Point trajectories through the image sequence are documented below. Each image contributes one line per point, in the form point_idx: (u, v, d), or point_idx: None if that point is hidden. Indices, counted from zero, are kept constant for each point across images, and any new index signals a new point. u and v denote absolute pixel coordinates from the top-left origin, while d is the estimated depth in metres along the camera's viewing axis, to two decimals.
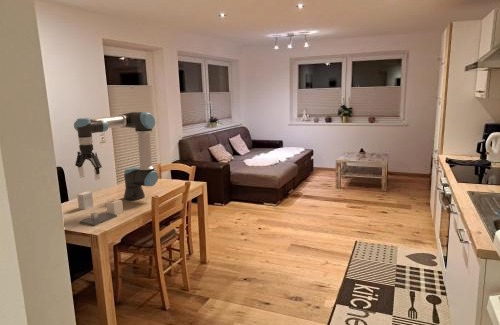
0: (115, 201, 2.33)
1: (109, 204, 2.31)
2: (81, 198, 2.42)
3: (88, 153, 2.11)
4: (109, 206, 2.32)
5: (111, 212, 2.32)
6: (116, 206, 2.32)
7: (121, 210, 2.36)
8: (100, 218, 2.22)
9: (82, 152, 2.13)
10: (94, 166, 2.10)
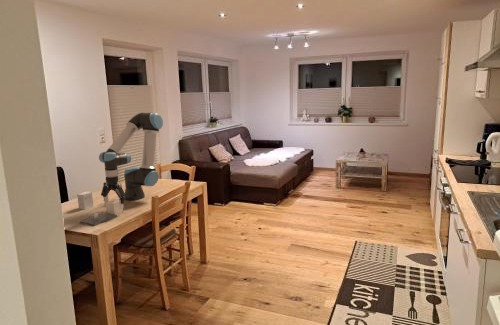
0: (115, 201, 2.33)
1: (109, 204, 2.31)
2: (81, 198, 2.42)
3: (114, 184, 2.29)
4: (109, 206, 2.32)
5: (111, 212, 2.32)
6: (116, 206, 2.32)
7: (121, 210, 2.36)
8: (100, 218, 2.22)
9: (108, 183, 2.32)
10: (119, 196, 2.29)
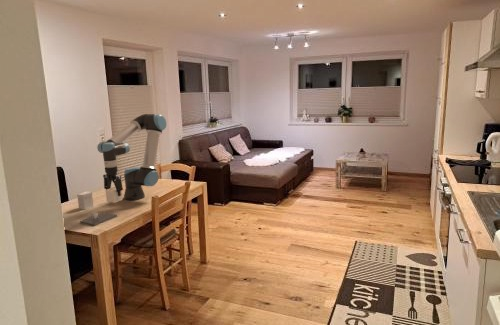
0: (114, 189, 2.32)
1: (108, 192, 2.30)
2: (81, 198, 2.42)
3: (113, 175, 2.28)
4: (108, 194, 2.31)
5: (111, 200, 2.31)
6: None
7: (121, 198, 2.35)
8: (100, 218, 2.22)
9: (107, 173, 2.31)
10: (116, 188, 2.30)
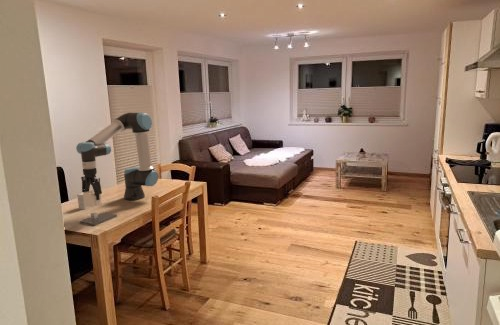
0: (93, 192, 2.16)
1: (86, 195, 2.14)
2: (81, 198, 2.42)
3: (92, 177, 2.12)
4: (86, 197, 2.14)
5: (88, 204, 2.14)
6: None
7: None
8: (100, 218, 2.22)
9: (85, 175, 2.15)
10: (95, 192, 2.13)
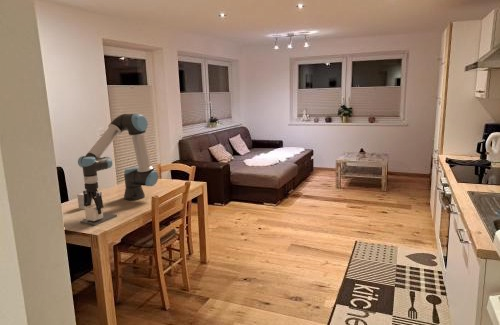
0: (94, 206, 2.18)
1: (88, 209, 2.16)
2: (81, 198, 2.42)
3: (93, 191, 2.14)
4: (88, 211, 2.16)
5: (90, 218, 2.16)
6: (95, 211, 2.16)
7: (101, 216, 2.20)
8: None
9: (87, 190, 2.16)
10: (96, 206, 2.15)
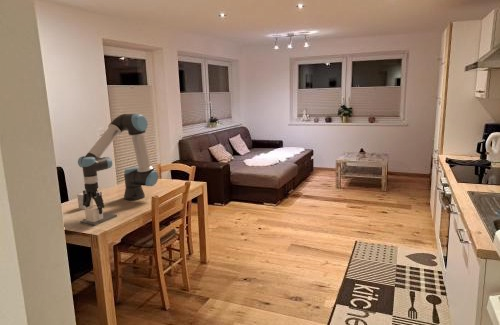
0: (94, 207, 2.18)
1: (88, 210, 2.16)
2: (81, 198, 2.42)
3: (93, 191, 2.14)
4: (88, 212, 2.16)
5: (90, 219, 2.16)
6: (95, 212, 2.16)
7: None
8: None
9: (87, 190, 2.16)
10: (97, 206, 2.15)
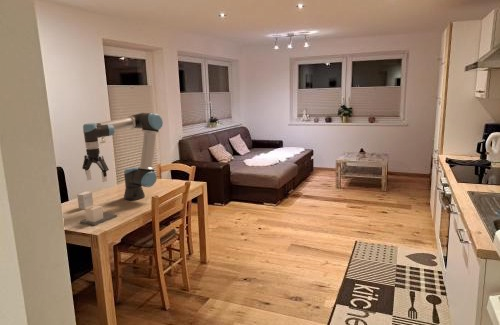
0: (94, 207, 2.18)
1: (88, 210, 2.16)
2: (81, 198, 2.42)
3: (95, 157, 2.21)
4: (88, 212, 2.16)
5: (90, 219, 2.16)
6: (95, 212, 2.16)
7: (101, 217, 2.20)
8: None
9: (89, 156, 2.23)
10: (101, 169, 2.21)
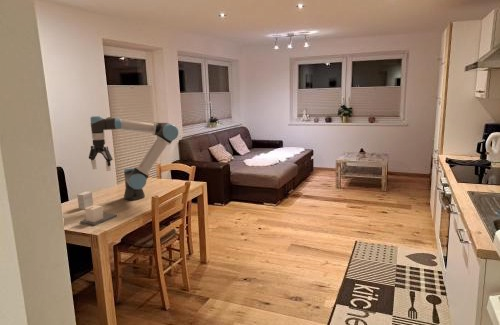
0: (94, 207, 2.18)
1: (88, 210, 2.16)
2: (81, 198, 2.42)
3: (100, 147, 2.37)
4: (88, 212, 2.16)
5: (90, 219, 2.16)
6: (95, 212, 2.16)
7: (101, 217, 2.20)
8: None
9: (95, 146, 2.40)
10: (106, 159, 2.37)
